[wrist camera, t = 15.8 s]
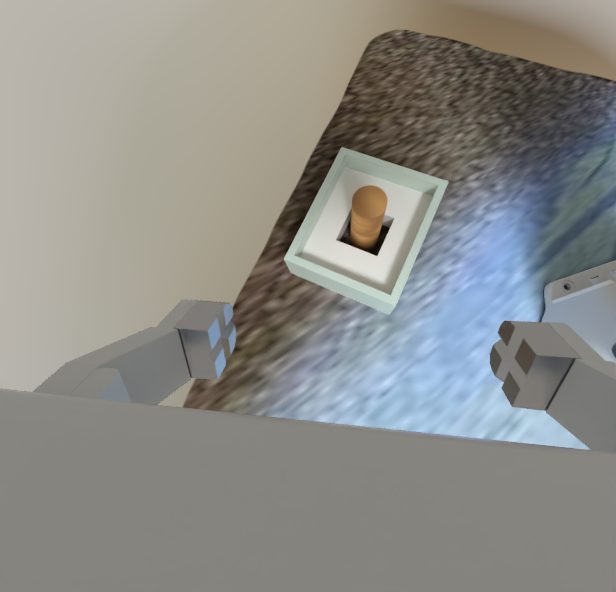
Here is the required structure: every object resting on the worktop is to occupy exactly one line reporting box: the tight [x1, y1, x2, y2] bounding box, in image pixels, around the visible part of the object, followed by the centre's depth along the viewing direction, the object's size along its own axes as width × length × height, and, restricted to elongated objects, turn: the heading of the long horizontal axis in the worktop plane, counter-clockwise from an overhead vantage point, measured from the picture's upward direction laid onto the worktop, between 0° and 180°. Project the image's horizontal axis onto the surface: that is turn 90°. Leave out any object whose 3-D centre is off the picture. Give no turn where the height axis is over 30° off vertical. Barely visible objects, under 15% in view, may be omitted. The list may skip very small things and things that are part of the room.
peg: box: [350, 185, 388, 251], centre depth 40 cm, size 4×4×10 cm
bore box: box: [284, 147, 449, 315], centre depth 42 cm, size 18×15×6 cm
